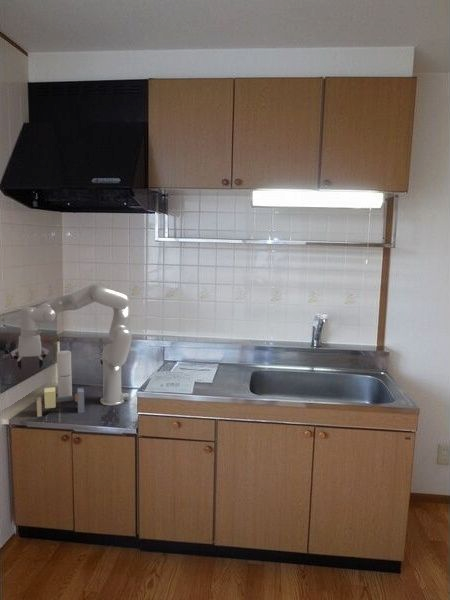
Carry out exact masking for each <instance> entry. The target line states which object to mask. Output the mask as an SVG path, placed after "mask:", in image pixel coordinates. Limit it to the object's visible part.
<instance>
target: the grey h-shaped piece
mask: <svg viewBox="0 0 450 600" xmlns="http://www.w3.org/2000/svg"><path fill="white" fill-rule="evenodd" d="M76 389H77V393H75V394H74V395H72V396H64V397H58V396H56V398H55V399H56V403H58V402H59V403H60V402H61V403H62V402H69V401H70V402H71V401H74V402H75V403H77V413H78V414H82V413H85V390H84V387H78V388H76ZM43 404H45V400H44V397H40V396H39V397H37V398H36V415H37V416H36V417H38V418H39V417H43Z"/></svg>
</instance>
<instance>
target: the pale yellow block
mask: <svg viewBox="0 0 450 600" xmlns="http://www.w3.org/2000/svg"><path fill="white" fill-rule="evenodd" d="M43 392H44V394H43V395H44V396H43V398H44V400H45V403H44V409H54V408H56V407H57V404H56V403H57V402H56V399H55V398H56V397H57V396H56V393H57V392H56V387H54V386H53V387H45V388H44V391H43Z"/></svg>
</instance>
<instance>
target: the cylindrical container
mask: <svg viewBox="0 0 450 600" xmlns="http://www.w3.org/2000/svg"><path fill="white" fill-rule="evenodd" d="M56 355H57V356H56V360H57V361H56V363H57V397H64V396H73V383H72V381H73V380H72V379H73V377H72V374H73V373H72V351H70V350H60V351H59V350H58V351H57V352H56Z"/></svg>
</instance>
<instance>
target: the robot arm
mask: <svg viewBox="0 0 450 600" xmlns="http://www.w3.org/2000/svg"><path fill="white" fill-rule="evenodd" d="M95 302H96V303H98V304H100V305H103V306H105V307H108V308H112V310H113V315H112V321H111V323H110V328H109V331H108V337H109V339H110V340H111V341H112V343H107V344H105V346H104V347H103V348H102V351H101V359H102V378H103V379H102V381H103V383H102V385H103V386H102V387H103V388H102V389H103V391H102V392H103V393H102V394H103V397H101V398H100V404H102V405H103V406H110V407H111V406H118V405H122V404H123V403H125V399H126V398H131V394H130V393H128V392H125V393H124V392H123V391H122V370H123V369H122V366H123V365H124V364H125V363H126V362H127V359H128V357H129V352H130V349H131V346H132V341H133V336H132V332H131V331H130V330H129V329H128V327H129V322H130V318H131V308H130V306H129V305H130V299H129V296H128V295H127V294H126V293H123V292H121V291H118V290H113V289H111V288H108V287H105V286H103V285H101V284H98V283H94V284H91V285H88V286H86V287H84V288H82V289H79V290H77V291H75V292H71V293H70V294H66V295H63V296H59V297H55V298H53V299H51V300H47V301H46V302H44V303H42V304H39V305H38V306H37V308H36V307H34V306H26V307H22V308H21V309H20V315H19V316H20V335H19V336H18V347H17V348H15V349H14V350H12V351H11V352H10V355H11V356H12V357H13V359H14V360H16V361H17V368H19V370H22V366H23V365H22V364H23V363H22V361H23V360H22V359H23V358H26V357H27V358H29V357H38V358H39V360H38V363H39V364H38V365H39V367H38V368H39V369H41V368H42V367H43V364H44V363H43V360H44V359H45V358H46V357H47V355H48V354H49V352H50V350H49V349H47V348H46V347H43V346H42V339H41V338H42V337H41V335H40V334H41V333H42V329H39V323H43V324H44V323H47V324H48V323H51V322H53V321H54V320H55V319H56V315H57V314H60V313H61V312H62V313H63V312H65V311H76V310H81V309H82V308H84V307H87V306H89V305H91V304H93V303H95ZM42 351H43V352H44V353H43V354H42ZM16 353H18V355H17V354H16Z"/></svg>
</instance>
